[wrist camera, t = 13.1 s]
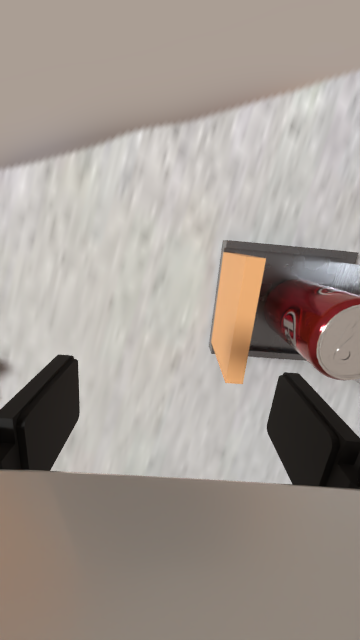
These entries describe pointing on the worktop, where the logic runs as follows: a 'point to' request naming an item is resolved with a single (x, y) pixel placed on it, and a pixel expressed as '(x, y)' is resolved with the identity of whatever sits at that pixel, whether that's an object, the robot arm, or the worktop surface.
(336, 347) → the soda can
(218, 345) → the sliding jaw
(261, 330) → the clamp bed
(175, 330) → the worktop surface
